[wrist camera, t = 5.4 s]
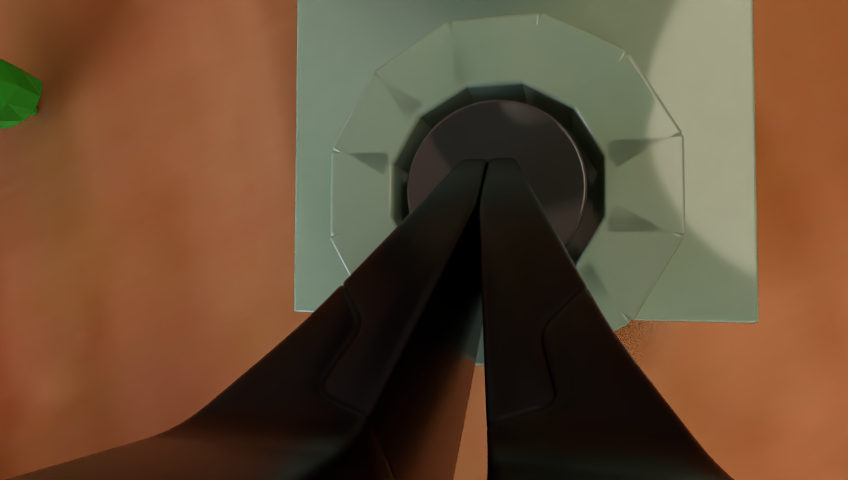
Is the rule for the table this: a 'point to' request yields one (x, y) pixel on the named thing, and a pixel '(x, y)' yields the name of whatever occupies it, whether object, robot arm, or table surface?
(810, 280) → the table surface
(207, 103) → the table surface
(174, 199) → the table surface
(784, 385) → the table surface
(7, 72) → the flower
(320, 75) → the lamp base
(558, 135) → the button
